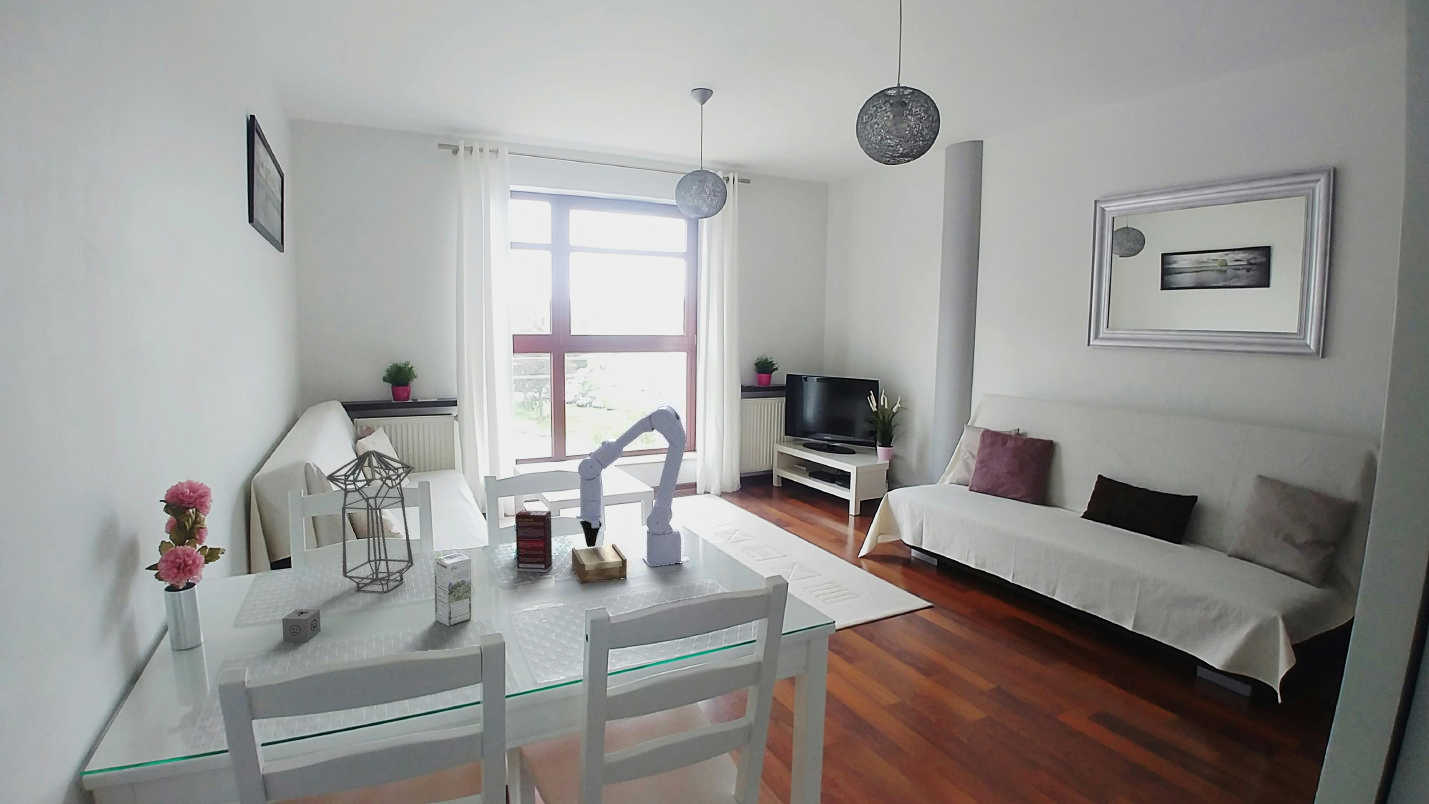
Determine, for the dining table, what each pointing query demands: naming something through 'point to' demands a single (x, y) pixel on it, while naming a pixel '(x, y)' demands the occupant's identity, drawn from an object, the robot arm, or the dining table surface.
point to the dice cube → (301, 625)
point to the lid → (599, 558)
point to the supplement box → (533, 541)
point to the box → (598, 573)
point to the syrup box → (452, 589)
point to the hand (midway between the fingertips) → (590, 546)
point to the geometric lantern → (386, 464)
